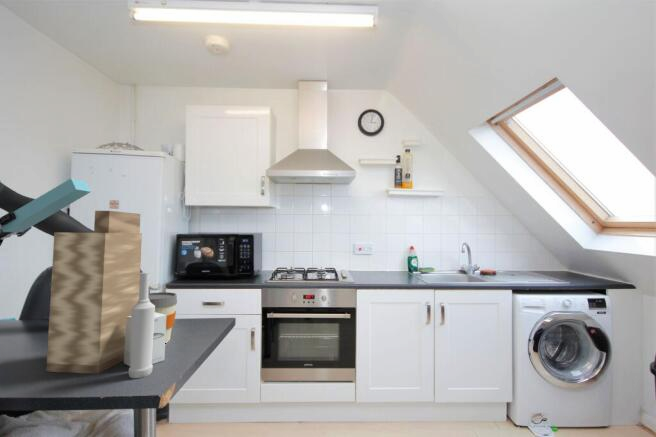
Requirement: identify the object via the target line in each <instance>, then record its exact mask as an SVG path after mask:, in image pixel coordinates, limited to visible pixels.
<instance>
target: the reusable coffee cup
mask: <svg viewBox="0 0 656 437" xmlns="http://www.w3.org/2000/svg"><path fill="white" fill-rule="evenodd" d="M177 296H178V295H177V293H175V292H170V291H169V292H168V291H167V292H163V291H162V292H161V291H160V292H149V293H148V299H149V300H150V302H151V303H152V304H153V305H155V312H156V313H161V314H165V315H166V336H165V343H167V342H168V341H169V340H170V341H171V334H172V330H173V327H174V325H175V320H176V315H177V311H176V306H177V303H178V298H177ZM170 341H169V342H170ZM167 344H168V343H167Z"/></svg>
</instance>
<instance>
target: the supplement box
mask: <svg viewBox="0 0 656 437" xmlns="http://www.w3.org/2000/svg"><path fill="white" fill-rule="evenodd" d="M165 336H166V315H165V314H161V313H156V312H155V317H154V333H153V349H152V365H154V364H158V363H161V362H164V361H165V357H166V355H165V353H166V344H165ZM130 352H131V316H128V317H126V333H125V352H124V360H123V363H124V365H126V366H128V367H130Z"/></svg>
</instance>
